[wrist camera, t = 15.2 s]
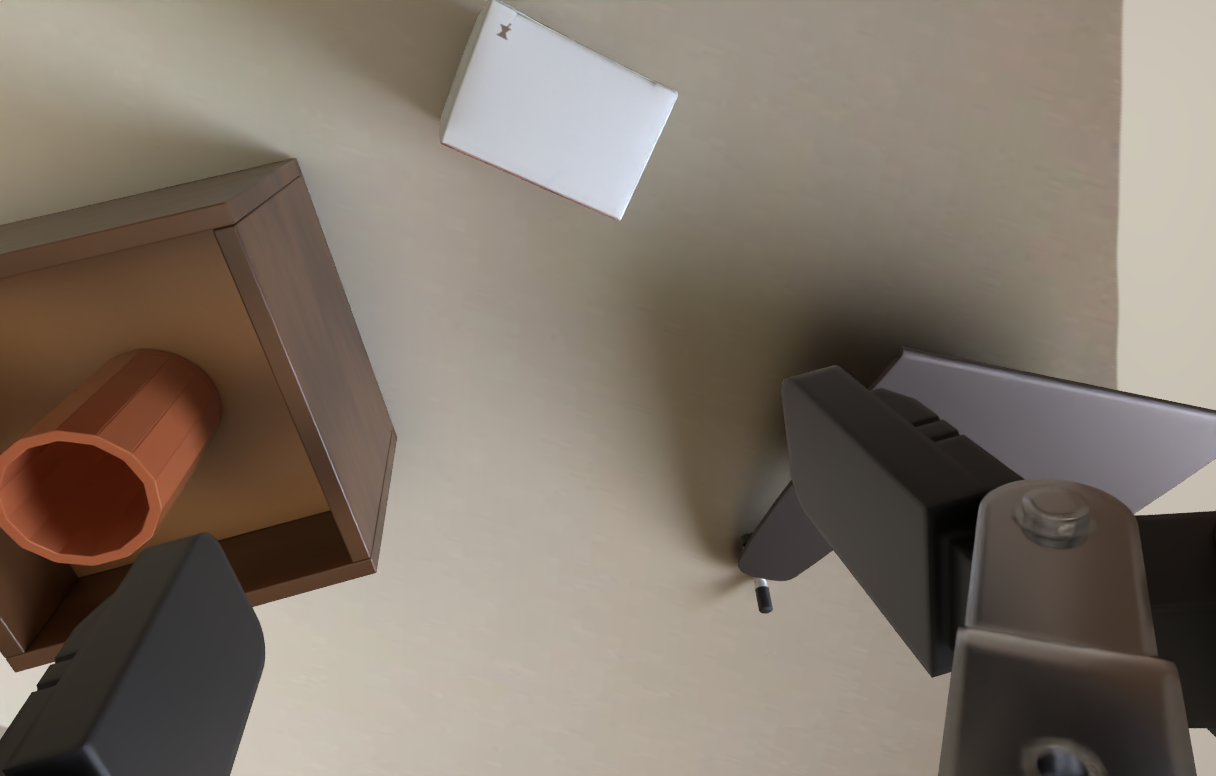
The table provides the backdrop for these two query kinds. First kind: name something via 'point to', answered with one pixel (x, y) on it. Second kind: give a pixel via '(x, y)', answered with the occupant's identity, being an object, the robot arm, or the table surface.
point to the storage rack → (229, 355)
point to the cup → (109, 459)
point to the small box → (553, 111)
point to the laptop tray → (1015, 445)
